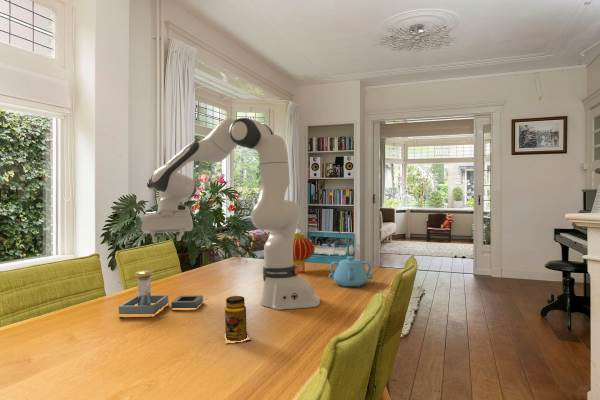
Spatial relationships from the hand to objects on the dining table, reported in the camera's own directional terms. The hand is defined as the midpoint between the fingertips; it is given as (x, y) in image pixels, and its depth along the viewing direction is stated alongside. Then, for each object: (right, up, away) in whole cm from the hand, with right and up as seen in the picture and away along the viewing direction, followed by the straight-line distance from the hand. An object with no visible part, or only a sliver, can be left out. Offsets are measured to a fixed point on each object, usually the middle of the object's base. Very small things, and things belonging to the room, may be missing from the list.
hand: (166, 241), depth 156 cm
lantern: (+53, -21, +46) cm, 74 cm away
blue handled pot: (+77, -22, +15) cm, 81 cm away
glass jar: (-2, -23, -17) cm, 28 cm away
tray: (-2, -24, -17) cm, 29 cm away
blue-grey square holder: (+12, -23, -12) cm, 29 cm away
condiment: (+35, -24, -44) cm, 61 cm away
